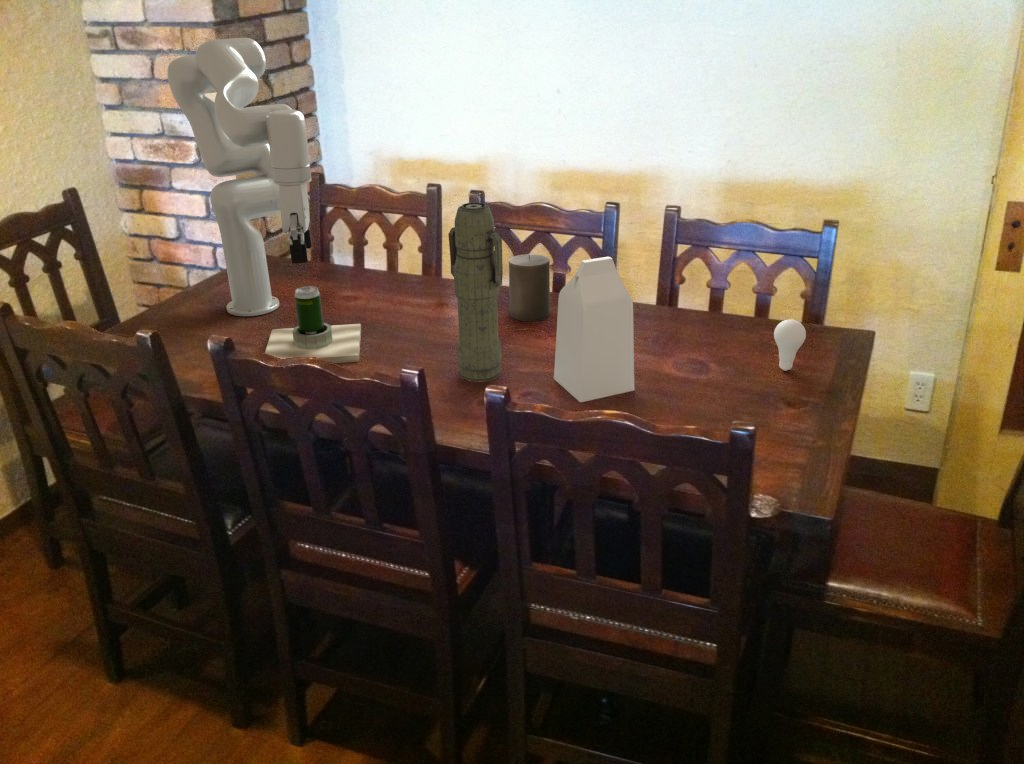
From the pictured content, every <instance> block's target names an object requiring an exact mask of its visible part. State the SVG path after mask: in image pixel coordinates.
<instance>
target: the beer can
mask: <svg viewBox="0 0 1024 764" xmlns="http://www.w3.org/2000/svg"><path fill="white" fill-rule="evenodd" d="M294 303H295V310H296V317H297V326H299V334H302V335H316V334H319V333H323V332H324V324H323V323H324V319H323V318H324V317H323V311H322V300H321V293H320V291H319V288H318V287H316V286H313V285H307V286H302V287H298V288H296V289H295V290H294Z"/></svg>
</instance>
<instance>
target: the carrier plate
mask: <svg viewBox="0 0 1024 764" xmlns="http://www.w3.org/2000/svg"><path fill="white" fill-rule="evenodd" d="M323 324H324V332H323V333H319V334H316V335H302V334H299V326H298V325H296V326H295V327H291V328H290V327H288V328H287V327H286V328H275V329H274V328H273V329H272V330H271V332H270V335H269V338H268V341H267V345H266V348H265V351H264V354H265V353H266V354H269V355H272V356H274V357H277V358H280V359H286V358H293V357H316V358H320V359H324V360H328V361H331V362H334V363H333V364H341V363H342V364H343V363H357V362H359V361H360V351H361V349H360V348H361V336H362V325H361V323H352V324H350V323H349V324H348V323H347V324H335V325H334V324H333V325H330V324H328V323H327V322H323Z"/></svg>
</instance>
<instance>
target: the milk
mask: <svg viewBox="0 0 1024 764" xmlns="http://www.w3.org/2000/svg"><path fill="white" fill-rule="evenodd" d="M557 299H558V302H557V315H556V316H557V319H556V320H557V321H556V335H555V351H554V352H555V355H554V371H553V372H554V373H553V380H554V381H556V383H558V384H559V385H560V386H561V387H562V388H563V389H565V391H567V392H568V393H569V394H570V395H571V396H572V397H573V398H574V399H576V400H577V401H578V402H579V403H584V402H588V401H593V400H598V399H602V398H605V397H611V396H615V395H619V394H624V393H628V392H634V391H635V346H634V345H635V344H634V342H635V341H634V339H635V338H634V333H635V331H634V303H633V299H632V297H631V295H630V292H629V290H628V288H627V287H626V285H625V283H624V282H623V280H622V278H621V276H620V274H619V273H618V271H617V267H616V265H615V262H614V259H613V258H612V257H611V256H604V257H596V258H590V259H583V260H581V261H580V263H579V265H578V267H577V270H576V272H575V274H574V276H573V277H572V278H571V279H570V280H569V281H568V282H567V283H566V284H565V285H564V286H563V287H562V288H561V289H560V291H559V294H558V298H557Z"/></svg>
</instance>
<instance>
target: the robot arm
mask: <svg viewBox="0 0 1024 764" xmlns="http://www.w3.org/2000/svg"><path fill="white" fill-rule="evenodd" d="M266 66H267V60H266V55H265V52H264V50H263V48H262V47H261V45H260V44H259V43H258V42H257V41H256V40H255V39H253V38H250V37H235V38H220V39H218V38H217V39H211V40H207V41H204V42H203V43H201V44H200V45H199V46H198V47H197V49H196V51H195V54H190V55H183V56H180V57H177V58H175V59H172V60H171V61H170V63H169V65H168V66H167V80H168V85H169V88H170V91H171V94H172V96H173V98H174V100H175V102H176V104H177V105H178V107H179V108H180V110H181V111H182V113H183V114H184V116H185V117H186V119H187V121H188V123H189V125H190V127H191V130H192V133H193V137H194V139H195V142H196V144H197V147H198V150H199V154H200V156H201V159H202V161H203V164H204V166H205V168H206V170H207V173H209V174H210V175H211V176H212V177H215V178H225V177H232V176H233V177H234V176H239V175H247V174H253V175H254V176H249V177H242V178H236V179H228V180H225V181H222V182H219V183H217V184H216V185H215V186H214V187H212V189H211V192H210V194H209V195H210V197H209V199H210V204H211V207H212V210H213V213H214V216H215V219H216V222H217V225H218V230H219V233H220V238H221V243H222V244H221V245H222V250H223V254H224V261H225V266H226V272H227V273H226V274H227V277H228V284H229V291H230V296H231V301H229V302H228V303H227V305H226V311H227V313H229V314H230V315H233V316H238V317H254V316H255V317H256V316H257V317H258V316H261V315H266V314H269V313H271V312H273V311H275V310H277V309H278V308H279V307H280V301H279V298H278V297H276V296H273V295H272V289H271V282H270V275H269V270H268V269H269V267H268V261H267V254H266V249H265V248H266V247H265V242H264V238H263V235H262V232H260V230H259V229H258V228H256V227H255V226H254V225H253V224H252V222H251V220H255V219H259V218H264V217H269V216H274V215H278V214H280V216H281V217H280V218H281V228H282V230H281V231H282V232H283V234H287V233H288V232H289V250H290V252H289V253H290V259H291V263H292V264H307V263H308V262H309V261H308V251H307V249H308V250H309V249H311V248H312V240H311V230H310V229H309V225H310V222H311V220H310V216H311V215H310V203H309V196H308V195H309V194H308V186H307V184H308V183H310V182H312V172H311V171H312V170H311V164H310V163H311V162H310V161H311V160H310V153H309V144H308V135H307V134H308V133H307V129H306V128H307V127H306V120H305V116H304V114H303V113H302V112H301V111H300V110H297V109H293V108H291V106H289V105H288V104H285V103H276V104H268V105H265V104H264V105H255V106H248V105H249V104H251V102H253V101H254V100H255V99H256V97H257V95H258V93H259V89H260V85H259V79H261V77H262V76H263V75H264V74H265V71H266V68H267V67H266ZM213 93H214V94H215V97H214V98H215V99H214V100H212V99H210V98H209V97H207V96H206V94H213Z"/></svg>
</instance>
